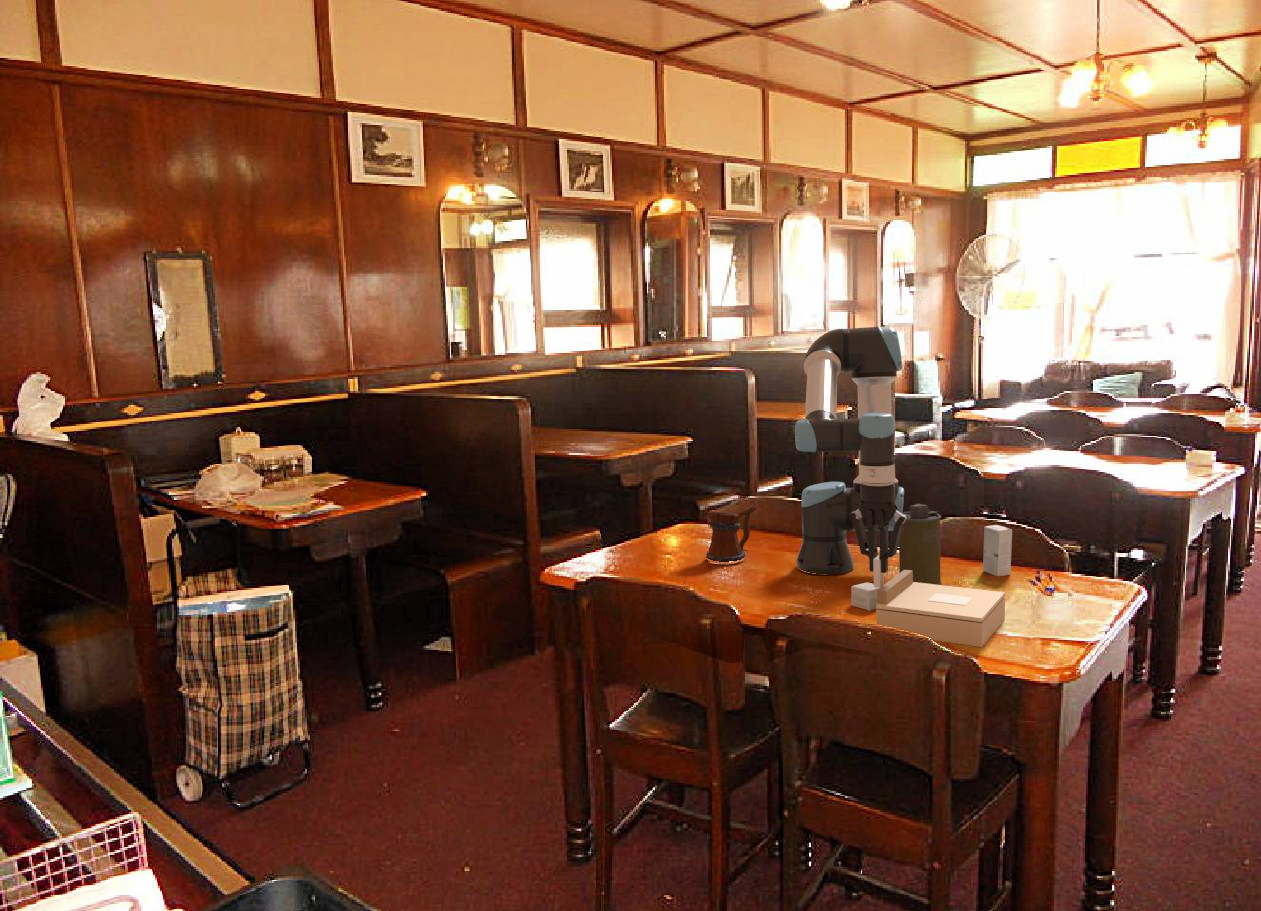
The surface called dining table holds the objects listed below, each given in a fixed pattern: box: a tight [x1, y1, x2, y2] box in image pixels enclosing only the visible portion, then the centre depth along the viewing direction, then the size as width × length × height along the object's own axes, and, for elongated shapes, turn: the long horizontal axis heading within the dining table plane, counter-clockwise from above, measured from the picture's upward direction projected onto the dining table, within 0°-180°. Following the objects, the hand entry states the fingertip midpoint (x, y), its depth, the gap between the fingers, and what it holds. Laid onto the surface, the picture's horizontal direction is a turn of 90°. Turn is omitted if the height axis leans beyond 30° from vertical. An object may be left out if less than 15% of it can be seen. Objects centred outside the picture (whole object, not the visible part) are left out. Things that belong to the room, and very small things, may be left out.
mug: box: [705, 504, 757, 562], centre depth 269 cm, size 18×12×15 cm, turn 128°
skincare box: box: [982, 524, 1013, 577], centre depth 241 cm, size 6×4×12 cm
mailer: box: [875, 596, 1006, 648], centre depth 203 cm, size 22×20×5 cm
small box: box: [851, 582, 879, 612], centre depth 220 cm, size 6×6×5 cm
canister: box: [898, 503, 942, 585], centre depth 235 cm, size 11×10×20 cm
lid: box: [876, 570, 1006, 622], centre depth 203 cm, size 22×20×4 cm
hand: (879, 585), depth 210 cm, fingers closed
